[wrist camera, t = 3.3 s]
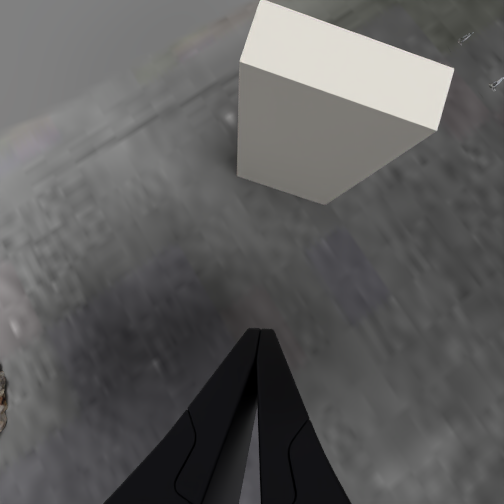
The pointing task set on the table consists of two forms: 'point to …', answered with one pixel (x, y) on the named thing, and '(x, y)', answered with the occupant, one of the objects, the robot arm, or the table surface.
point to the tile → (328, 104)
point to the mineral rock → (2, 402)
